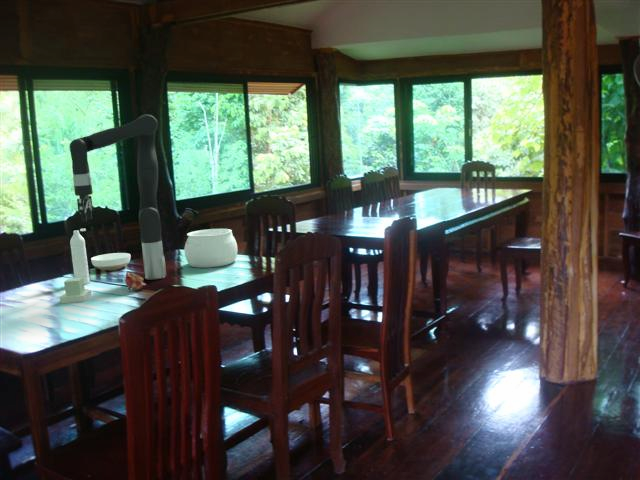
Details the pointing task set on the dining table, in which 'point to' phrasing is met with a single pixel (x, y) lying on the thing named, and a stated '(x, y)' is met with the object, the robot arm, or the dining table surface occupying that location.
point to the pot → (210, 248)
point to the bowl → (111, 261)
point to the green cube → (74, 286)
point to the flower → (133, 281)
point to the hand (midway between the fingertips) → (87, 220)
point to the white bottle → (79, 256)
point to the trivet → (75, 297)
